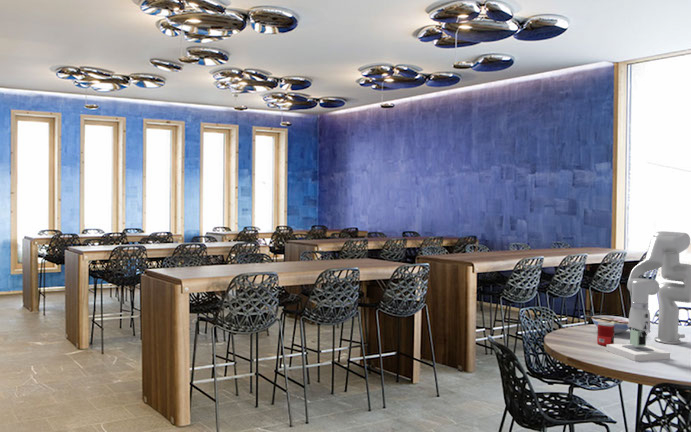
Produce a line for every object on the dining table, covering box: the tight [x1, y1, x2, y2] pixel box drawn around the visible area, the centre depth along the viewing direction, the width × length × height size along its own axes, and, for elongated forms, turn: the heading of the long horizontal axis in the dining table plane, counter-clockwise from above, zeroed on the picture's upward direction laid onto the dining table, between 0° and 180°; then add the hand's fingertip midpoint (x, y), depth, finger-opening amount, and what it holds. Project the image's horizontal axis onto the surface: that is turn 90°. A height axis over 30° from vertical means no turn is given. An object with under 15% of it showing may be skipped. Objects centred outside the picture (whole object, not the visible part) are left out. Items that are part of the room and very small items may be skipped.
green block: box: [629, 329, 647, 346], centre depth 307 cm, size 5×5×7 cm
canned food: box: [596, 322, 615, 347], centre depth 327 cm, size 8×8×11 cm
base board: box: [605, 342, 671, 362], centre depth 307 cm, size 20×20×3 cm
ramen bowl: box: [584, 315, 629, 335], centre depth 357 cm, size 25×23×8 cm
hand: (637, 342), depth 307 cm, fingers closed on green block, 4 cm apart
